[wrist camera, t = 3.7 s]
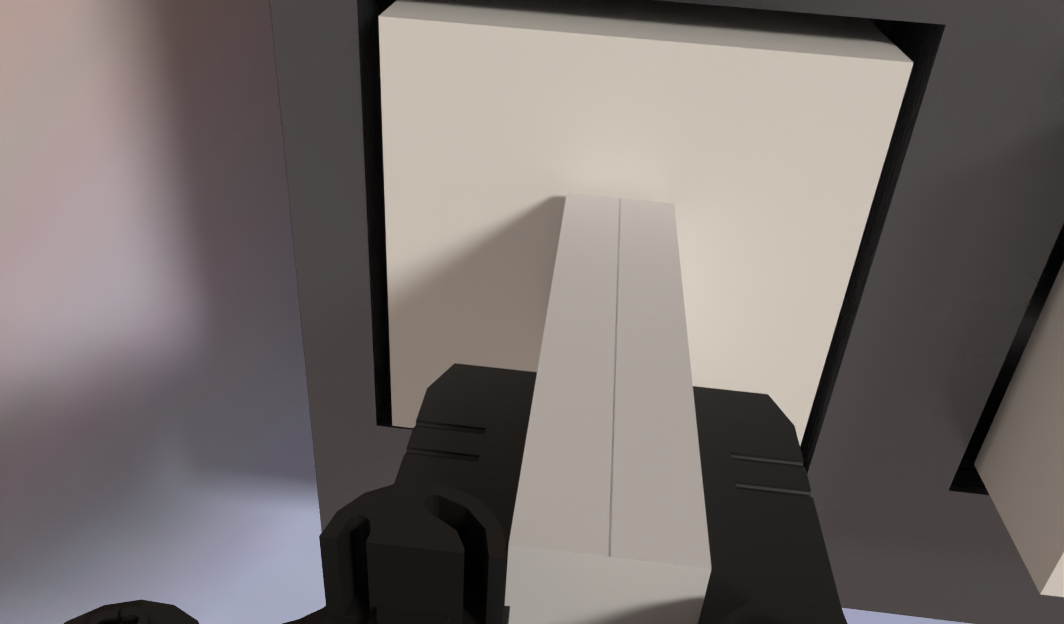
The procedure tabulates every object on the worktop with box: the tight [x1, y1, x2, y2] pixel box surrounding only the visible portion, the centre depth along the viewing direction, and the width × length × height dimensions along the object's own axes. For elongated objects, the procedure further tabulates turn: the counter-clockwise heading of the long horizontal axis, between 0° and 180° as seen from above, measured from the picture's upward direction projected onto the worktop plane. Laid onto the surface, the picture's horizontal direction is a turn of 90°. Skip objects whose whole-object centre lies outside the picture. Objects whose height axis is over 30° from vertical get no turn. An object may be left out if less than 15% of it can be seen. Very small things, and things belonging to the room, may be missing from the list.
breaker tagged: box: [378, 0, 913, 445], centre depth 14 cm, size 7×7×3 cm
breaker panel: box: [270, 0, 1064, 624], centre depth 15 cm, size 14×20×5 cm
